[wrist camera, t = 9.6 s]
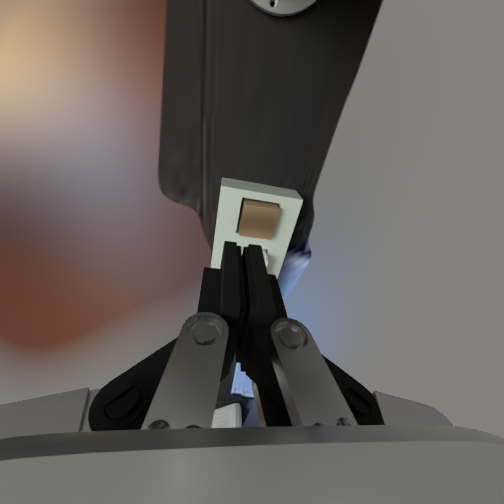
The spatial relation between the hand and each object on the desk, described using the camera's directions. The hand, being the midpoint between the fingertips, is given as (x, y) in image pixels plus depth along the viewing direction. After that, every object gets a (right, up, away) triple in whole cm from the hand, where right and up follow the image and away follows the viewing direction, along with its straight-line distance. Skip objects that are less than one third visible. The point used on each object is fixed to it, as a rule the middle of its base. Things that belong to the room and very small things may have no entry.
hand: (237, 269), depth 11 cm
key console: (0, +2, +31) cm, 31 cm away
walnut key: (+1, +7, +25) cm, 27 cm away
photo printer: (-8, -51, +65) cm, 83 cm away
